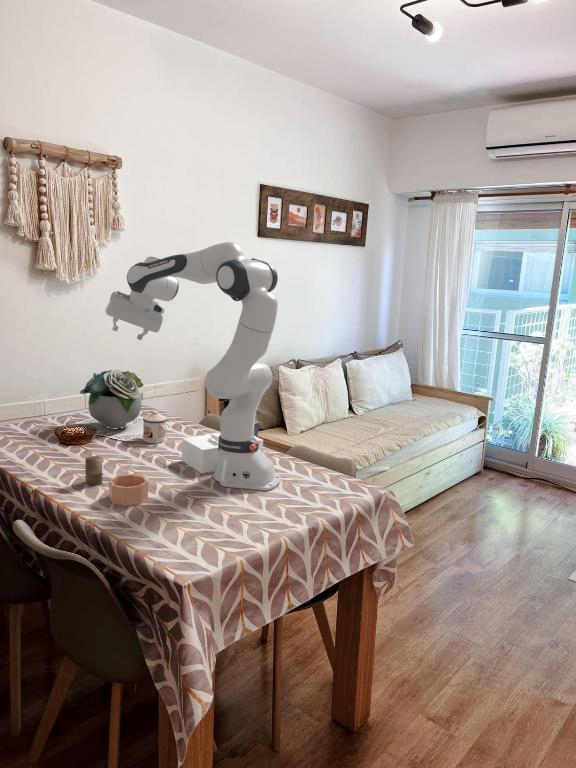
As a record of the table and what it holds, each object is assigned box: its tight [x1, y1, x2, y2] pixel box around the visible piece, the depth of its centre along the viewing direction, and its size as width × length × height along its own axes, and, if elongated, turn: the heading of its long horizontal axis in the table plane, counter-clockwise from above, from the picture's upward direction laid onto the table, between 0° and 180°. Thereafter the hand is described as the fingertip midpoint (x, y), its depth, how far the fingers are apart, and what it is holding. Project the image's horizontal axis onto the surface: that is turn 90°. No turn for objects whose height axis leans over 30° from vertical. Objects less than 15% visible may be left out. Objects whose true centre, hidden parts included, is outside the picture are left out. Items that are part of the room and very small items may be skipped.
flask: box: [254, 420, 259, 438], centre depth 232 cm, size 9×3×11 cm, turn 144°
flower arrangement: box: [79, 369, 144, 428], centre depth 242 cm, size 25×25×24 cm
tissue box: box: [181, 432, 264, 474], centre depth 211 cm, size 14×25×11 cm, turn 128°
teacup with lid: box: [142, 410, 167, 444], centre depth 229 cm, size 12×9×12 cm
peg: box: [84, 455, 103, 487], centre depth 184 cm, size 5×5×8 cm
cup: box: [108, 473, 149, 507], centre depth 174 cm, size 10×10×6 cm
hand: (126, 335), depth 214 cm, fingers open, 8 cm apart
